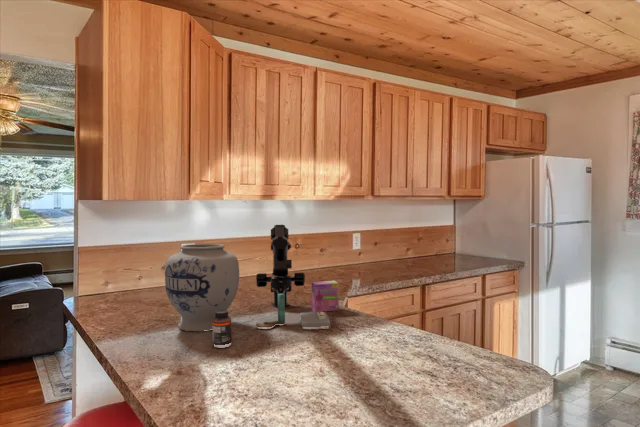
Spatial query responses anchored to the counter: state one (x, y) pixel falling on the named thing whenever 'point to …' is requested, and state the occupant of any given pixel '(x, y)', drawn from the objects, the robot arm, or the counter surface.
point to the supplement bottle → (222, 328)
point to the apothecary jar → (201, 283)
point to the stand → (314, 319)
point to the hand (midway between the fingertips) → (280, 298)
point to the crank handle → (280, 314)
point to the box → (325, 296)
